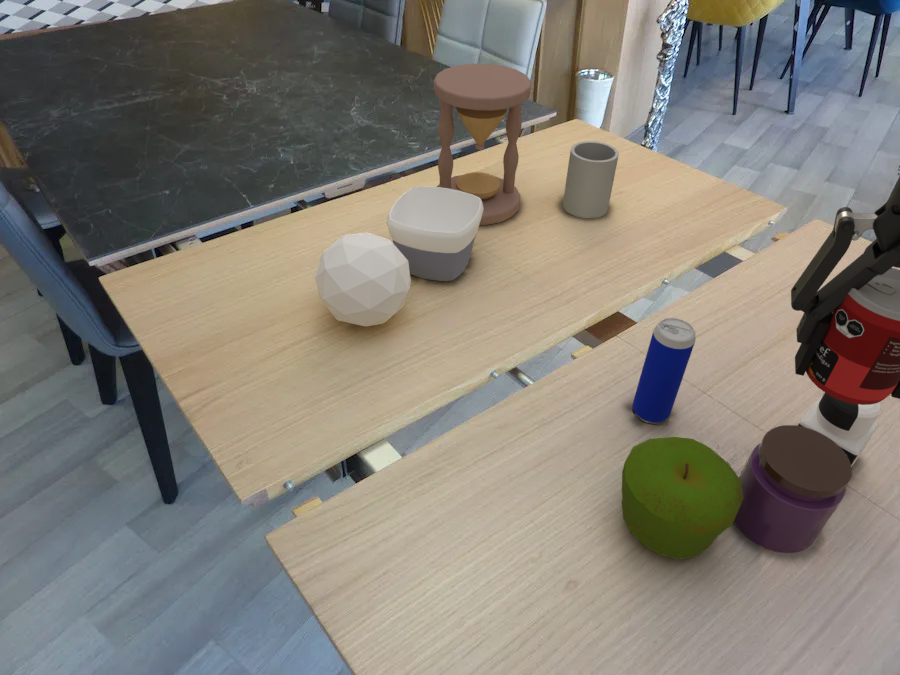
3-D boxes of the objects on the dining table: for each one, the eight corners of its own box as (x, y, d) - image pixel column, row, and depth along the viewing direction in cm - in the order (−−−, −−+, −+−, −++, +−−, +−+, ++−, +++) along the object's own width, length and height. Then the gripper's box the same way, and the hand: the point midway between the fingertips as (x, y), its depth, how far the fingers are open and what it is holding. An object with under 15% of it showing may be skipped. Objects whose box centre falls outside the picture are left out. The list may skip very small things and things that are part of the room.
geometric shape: (388, 329, 113) (441, 265, 107) (351, 358, 99) (410, 287, 93) (325, 273, 113) (375, 206, 107) (280, 295, 100) (334, 219, 93)
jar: (814, 496, 82) (852, 436, 75) (818, 565, 75) (860, 506, 68) (730, 472, 85) (758, 412, 78) (726, 537, 78) (757, 477, 70)
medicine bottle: (779, 458, 87) (814, 393, 79) (802, 429, 91) (838, 365, 83) (834, 491, 83) (876, 426, 75) (856, 459, 87) (898, 395, 79)
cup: (608, 220, 132) (619, 164, 124) (562, 215, 133) (570, 159, 125) (607, 198, 138) (617, 143, 131) (563, 193, 139) (571, 139, 132)
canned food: (808, 342, 70) (851, 255, 63) (892, 370, 67) (948, 282, 60) (795, 386, 65) (841, 296, 58) (886, 419, 62) (946, 328, 55)
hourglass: (517, 183, 142) (528, 64, 126) (522, 227, 129) (535, 99, 113) (435, 181, 142) (435, 61, 126) (431, 224, 129) (431, 96, 113)
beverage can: (673, 407, 93) (702, 325, 84) (663, 431, 90) (691, 348, 80) (638, 393, 95) (662, 311, 86) (626, 416, 92) (649, 333, 82)
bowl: (463, 296, 112) (465, 239, 105) (379, 277, 116) (375, 221, 108) (488, 248, 123) (492, 194, 116) (411, 233, 127) (410, 179, 119)
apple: (594, 536, 77) (611, 476, 70) (634, 467, 85) (653, 406, 78) (700, 593, 72) (730, 535, 65) (732, 514, 80) (762, 454, 73)
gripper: (823, 160, 51) (734, 374, 66) (1150, 213, 46) (973, 433, 60) (818, 123, 56) (737, 329, 71) (1110, 166, 51) (957, 379, 66)
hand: (845, 377), depth 66 cm, fingers closed on canned food, 8 cm apart
